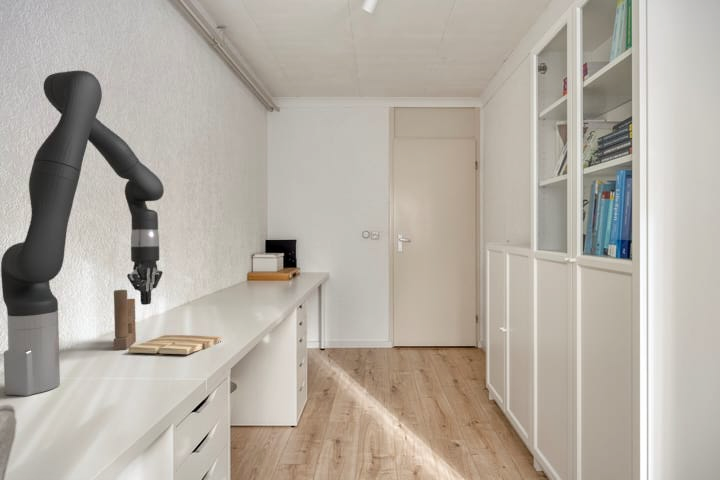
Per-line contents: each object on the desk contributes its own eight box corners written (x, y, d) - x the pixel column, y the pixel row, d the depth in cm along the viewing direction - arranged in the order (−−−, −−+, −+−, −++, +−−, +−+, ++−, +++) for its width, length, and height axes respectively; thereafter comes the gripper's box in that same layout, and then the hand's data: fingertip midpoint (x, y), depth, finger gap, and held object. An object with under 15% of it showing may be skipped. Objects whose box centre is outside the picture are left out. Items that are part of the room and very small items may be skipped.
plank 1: (155, 353, 126) (155, 348, 126) (128, 352, 128) (128, 347, 128) (172, 347, 134) (172, 342, 134) (147, 346, 136) (147, 342, 136)
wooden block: (136, 341, 144) (134, 286, 144) (126, 349, 134) (125, 290, 134) (123, 342, 143) (122, 287, 143) (113, 350, 133) (112, 291, 133)
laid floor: (204, 349, 132) (204, 343, 132) (145, 347, 136) (145, 341, 136) (221, 341, 142) (221, 336, 142) (165, 339, 146) (165, 334, 146)
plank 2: (186, 354, 124) (186, 348, 124) (159, 353, 126) (159, 347, 126) (202, 348, 132) (202, 343, 132) (176, 347, 134) (176, 342, 134)
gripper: (141, 245, 122) (142, 307, 122) (170, 244, 135) (171, 301, 135) (117, 245, 124) (118, 307, 124) (148, 245, 137) (149, 301, 137)
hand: (146, 304), depth 129 cm, fingers closed
